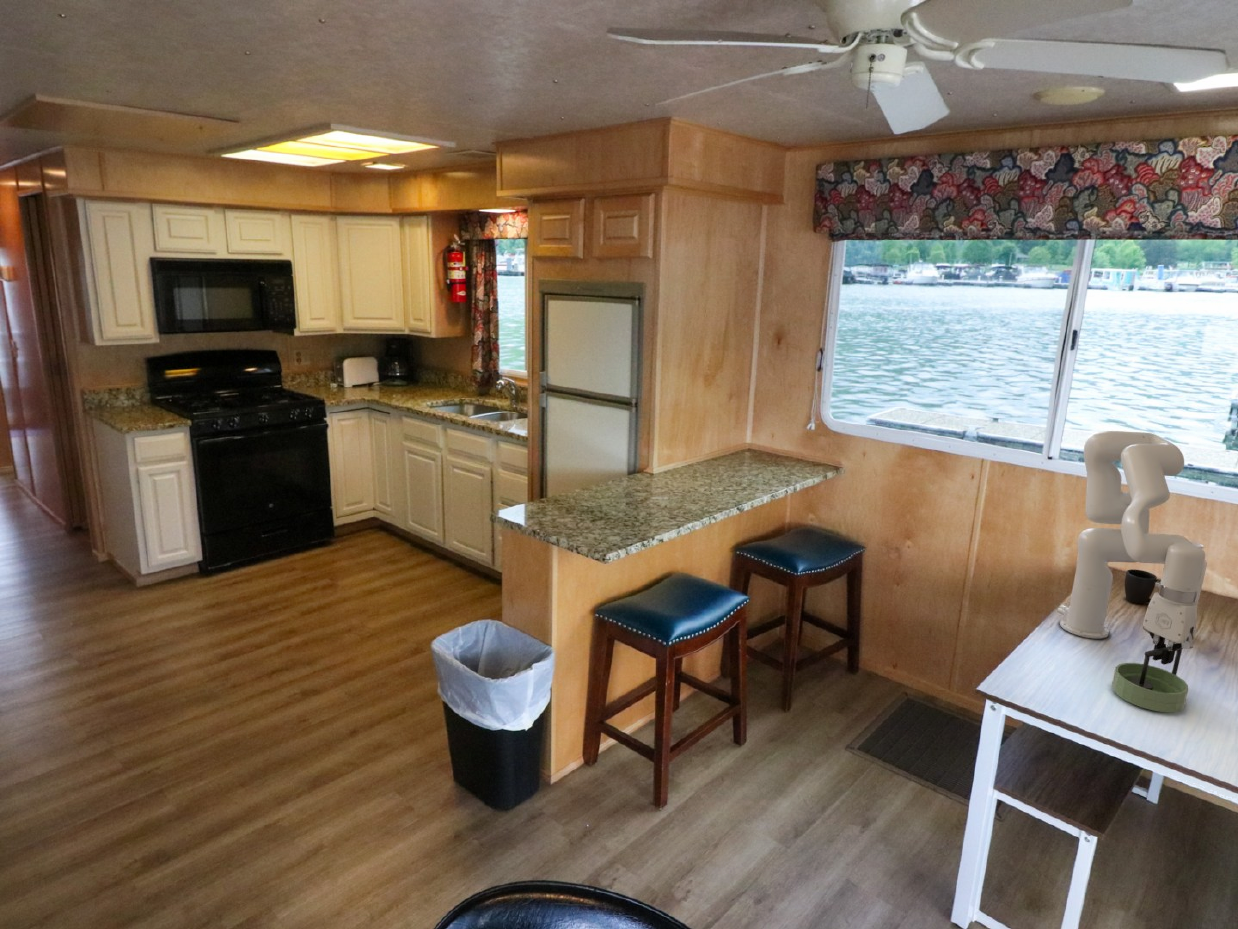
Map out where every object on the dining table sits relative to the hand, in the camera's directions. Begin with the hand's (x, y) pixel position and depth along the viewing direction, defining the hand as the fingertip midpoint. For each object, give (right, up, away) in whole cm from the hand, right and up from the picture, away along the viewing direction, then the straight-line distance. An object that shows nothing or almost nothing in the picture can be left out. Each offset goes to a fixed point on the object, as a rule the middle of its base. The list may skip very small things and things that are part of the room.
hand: (1162, 661), depth 197 cm
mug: (+33, +4, +57) cm, 66 cm away
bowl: (-4, -9, -1) cm, 10 cm away
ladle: (-1, -7, +1) cm, 7 cm away
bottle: (+29, -1, +36) cm, 46 cm away
